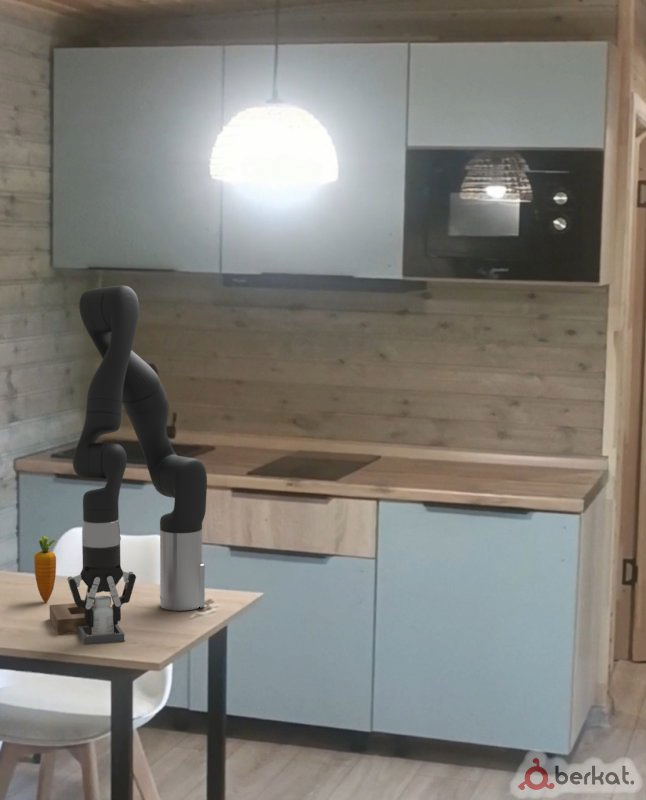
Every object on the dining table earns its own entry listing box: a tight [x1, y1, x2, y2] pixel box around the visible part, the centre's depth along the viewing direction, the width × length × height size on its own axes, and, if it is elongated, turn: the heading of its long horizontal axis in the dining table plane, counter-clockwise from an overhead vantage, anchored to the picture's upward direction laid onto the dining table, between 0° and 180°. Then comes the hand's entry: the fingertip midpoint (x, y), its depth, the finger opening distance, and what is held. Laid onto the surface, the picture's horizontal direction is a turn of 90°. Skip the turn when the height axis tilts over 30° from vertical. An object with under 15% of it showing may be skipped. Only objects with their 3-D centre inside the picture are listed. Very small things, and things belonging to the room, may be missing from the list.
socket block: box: [49, 601, 95, 635], centre depth 279 cm, size 12×12×3 cm
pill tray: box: [77, 623, 125, 646], centre depth 269 cm, size 8×8×2 cm
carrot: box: [33, 535, 57, 603], centre depth 295 cm, size 5×5×15 cm
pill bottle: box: [91, 595, 115, 636], centre depth 269 cm, size 4×4×8 cm
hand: (102, 624), depth 269 cm, fingers closed on pill bottle, 4 cm apart
